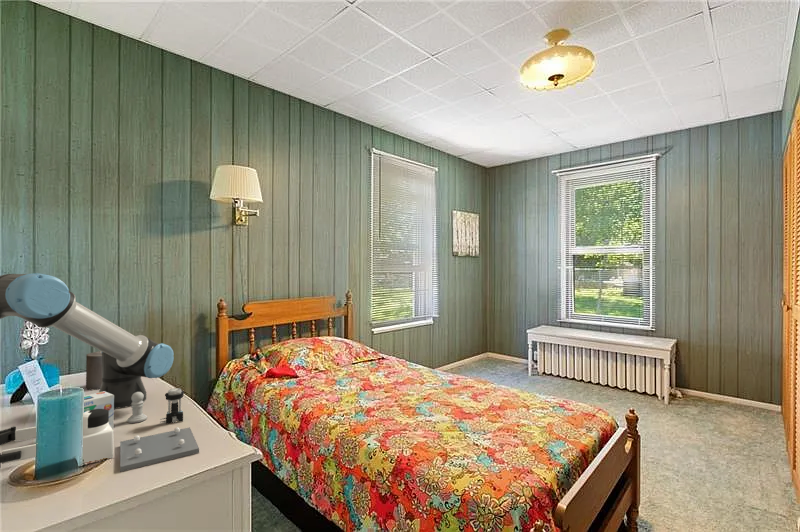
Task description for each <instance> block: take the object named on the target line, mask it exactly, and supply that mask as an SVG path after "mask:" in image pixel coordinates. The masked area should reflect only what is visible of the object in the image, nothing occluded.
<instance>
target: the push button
mask: <svg viewBox="0 0 800 532" xmlns="http://www.w3.org/2000/svg"><path fill="white" fill-rule="evenodd" d="M184 394H185V391H184V390H182V389H181V388H178V387H177V388H171V389H168V391H167V392H166V393H165V394H164V397H165V400H166V401H167V405H168V406H167V408H168V410H167V412H166V414H165V417H162V418H159V420H160V421H159V423H166V424H167V423H168V424H174V422H175V423H177V422H176V421H182V422H183V421H184V412H183V409H182V399H183V398H184ZM161 420H162V421H161ZM171 422H173V423H171Z"/></svg>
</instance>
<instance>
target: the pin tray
mask: <svg viewBox="0 0 800 532" xmlns="http://www.w3.org/2000/svg"><path fill="white" fill-rule="evenodd" d="M119 443H120V444H119V448H120V449H119V450H120V451H119V453H120V454H119V456H120V458H119V462H120V463H119V464H120V466H119V469H120V470H119V472H120V473H122V472H125V471H129V470H133V469H138V468H142V467H147V466H150V465H154V464H159V463H163V462H167V461H171V460H176V459H178V458H179V459H180V458H184V457H188V456H193V455H196V454H199V453H200V447H199V444H198V442H197V441H196V438H195V436H194V434H193V432H192V429H191V427H185V428H180V427H178V426H177V427H175V428H174V430H171V431H166V432H161V433H156V434H155V433H154V434H151V435H146V436H142V437H141V436H140V435H138V434H137V435H134V437H133V438H131V439H128V440H127V439H126V440H123V441H121V440H120V442H119Z"/></svg>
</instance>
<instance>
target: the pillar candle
mask: <svg viewBox="0 0 800 532" xmlns="http://www.w3.org/2000/svg"><path fill="white" fill-rule="evenodd" d="M101 352H102V351H100V350H99V351H94V352H89V353H87V354H86V356H85V357H86V360H85V361H86V363H85V364H86V367H85V368H86V370H85V371H86V374H85V389H86V388H87V389H86V390H89V389H96V390H100V388H101V385H102V354H101Z"/></svg>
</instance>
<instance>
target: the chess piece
mask: <svg viewBox="0 0 800 532" xmlns="http://www.w3.org/2000/svg"><path fill="white" fill-rule="evenodd" d="M143 398H144V395H143V393H142V392H136V393H134V394H133V395H132V397H131V399H132V401H133V402H132V403H131V405H132V406H130V407H131V409H132V411H131V412H132V415H130V416H129V417H128V418H127V420H126V421H127V422H128V423H129V424H135V423H136V424H137V423H141V422H144V421H146V420H147V419H148V415H146V414H145V413H143V406H145V405H144V401H142V400H143Z"/></svg>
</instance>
